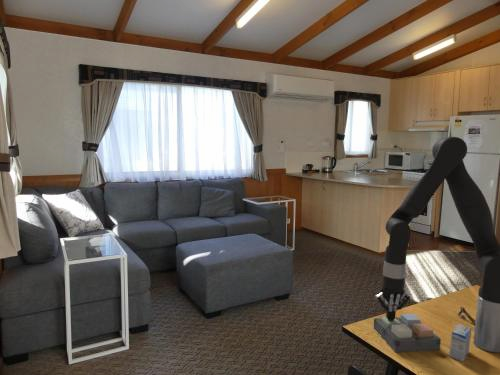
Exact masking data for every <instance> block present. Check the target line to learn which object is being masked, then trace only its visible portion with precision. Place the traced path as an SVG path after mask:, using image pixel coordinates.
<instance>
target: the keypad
mask: <svg viewBox="0 0 500 375" xmlns="http://www.w3.org/2000/svg"><path fill="white" fill-rule="evenodd" d="M395 318H396V319H397V320H398V321H399V322H400V325H401V324H404V323H403V322H402V321H401V316H400V317H395ZM420 324H423V322H421V321H420ZM408 328H409V329H410V330H412V326H409V327H408ZM374 329H375V330H376V331H377V332H378V333H379V334H380V335H381V336H380V335H379V334H378V333H377V332H376V331H375V330H374ZM391 329H392V327H388V328H387V327H386V326H385V325H384V324H383V323H382V322H381V318H379V317H377V318H373V330H374V331H375V332H376V333H377V334H378V335H379V336H380V337H381V339H384V340H385V341H386V342H387V343H386V342H385V341H384V340H383V341H384V342H385V343H386V344H387V346H389V347H390V349H391V350H392V351H393V350H394V351H393V352H395V353H406V352H407V353H411V352H424V351H425V352H426V351H427V352H429V351H440V349H441V342H442V340H441V337H439V335H437V334H436V333H434V332H433V337H420V338H419V337H418V336H417V335H416V334H415V333H414V332H413V331H412V338H399V339H398V338H397V337H396V336H395V335H394V334H393V333H392V332H391Z"/></svg>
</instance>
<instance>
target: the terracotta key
mask: <svg viewBox="0 0 500 375" xmlns="http://www.w3.org/2000/svg"><path fill="white" fill-rule="evenodd" d="M412 331H413V332H414V333H415V334H416V335H417V336H418V337H419V338H420V337H433V333H434V330H433V329H432V328H431V327H430V326H429V325H428V324H426V323H422V324H412Z"/></svg>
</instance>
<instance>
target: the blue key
mask: <svg viewBox="0 0 500 375" xmlns="http://www.w3.org/2000/svg"><path fill="white" fill-rule="evenodd" d="M400 317H401V321H402V322H403V323H404V324H405V325H406V326H407V327H409V326H412V324H420V322H421V318H419V317H418V316H417V315H415V314H414V313H401V314H400Z"/></svg>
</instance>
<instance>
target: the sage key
mask: <svg viewBox="0 0 500 375" xmlns="http://www.w3.org/2000/svg"><path fill="white" fill-rule="evenodd" d="M396 318H397V317H395V319H394V321H389V320H388V319H387V318H386V316H383V317H381V322H382V323H383V324H384V325H385V326H386V327H387V328H388V327H392V325H400V322H399V321H398V320H397V319H396Z"/></svg>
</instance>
